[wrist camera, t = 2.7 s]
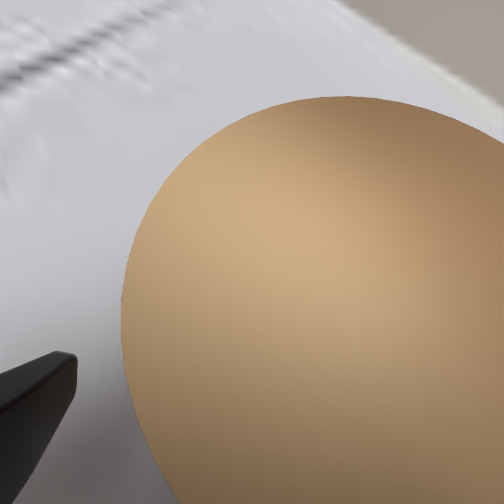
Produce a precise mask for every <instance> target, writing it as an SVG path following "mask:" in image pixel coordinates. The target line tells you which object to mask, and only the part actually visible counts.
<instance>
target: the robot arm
mask: <svg viewBox="0 0 504 504" xmlns="http://www.w3.org/2000/svg"><path fill="white" fill-rule="evenodd" d="M77 366H78V360H77V357H76V355H74V354H71V353H66V352H61V351H54V352H52V353H49V354H47V355H44V356H42V357H40V358H37V359H35V360H32V361H30V362H28V363H25V364H23V365H20V366H18V367H16V368H13V369H11V370H8V371H6V372H4V373H1V374H0V504H12V503H13V501H14V500H15V498H16V497H17V495H18V494H19V492H20V491H21V489H22V488H23V487H24V485H25V483H26V482H27V480H28V479H29V477H30V476H31V474H32V473H33V471H34V469H35V467H36V466H37V464H38V462H39V460H40V459H41V457H42V455H43V453H44V451H45V450H46V448H47V446H48V444H49V442H50V440H51V439H52V437H53V435H54V433H55V431H56V429H57V428H58V426H59V424H60V422H61V420H62V418H63V417H64V415H65V413H66V411H67V409H68V407H69V406H70V404H71V402H72V400H73V398H74V396H75V392H76V387H77Z"/></svg>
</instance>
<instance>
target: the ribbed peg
mask: <svg viewBox="0 0 504 504" xmlns="http://www.w3.org/2000/svg"><path fill="white" fill-rule="evenodd" d="M121 342H122V350H123V358H124V366H125V374H126V379H127V383H128V386H129V390H130V394H131V398H132V401H133V405H134V409H135V413H136V416H137V419H138V422H139V424H140V427H141V429H142V431H143V434H144V436H145V439H146V441H147V443H148V446H149V448H150V450H151V453H152V455H153V458H154V460H155V462H156V464H157V465H158V467H159V469H160V470H161V472H162V474H163V475H164V477H165V479H166V481H167V482H168V484H169V486H170V487H171V489H172V491H173V492H174V494H175V496H176V497H177V499H178V501H179V503H180V504H504V144H503V143H501V142H500V141H498V140H496V139H494V138H492V137H491V136H489V135H487V134H485V133H483V132H481V131H480V130H478V129H476V128H473V127H471V126H469V125H467V124H464V123H462V122H460V121H458V120H456V119H453V118H451V117H448V116H445V115H442V114H439V113H437V112H434V111H431V110H428V109H425V108H421V107H417V106H413V105H409V104H405V103H401V102H395V101H389V100H383V99H377V98H366V97H351V96H343V97H320V98H312V99H305V100H297V101H293V102H289V103H285V104H281V105H277V106H273V107H270V108H267V109H264V110H262V111H259V112H256V113H253V114H251V115H248V116H246V117H244V118H242V119H240V120H238V121H236V122H234V123H232V124H230V125H228V126H227V127H225V128H223V129H222V130H220V131H219V132H217V133H216V134H214V135H213V136H211V137H210V138H209V139H207V140H206V141H204V142H203V143H202V144H201V145H200V146H198V147H197V148H196V149H195V150H194V151H193V152H192V153H190V154H189V155H188V156H187V157H186V158H185V159H184V160H183V161H182V162H181V163H180V164H179V165H178V167H177V168H176V169H175V170H174V171H173V172H172V173H171V175H170V176H169V177H168V178H167V179H166V180H165V182H164V183H163V185H162V187H161V188H160V190H159V191H158V193H157V194H156V196H155V197H154V199H153V200H152V202H151V203H150V205H149V207H148V209H147V211H146V213H145V216H144V218H143V220H142V222H141V224H140V226H139V228H138V231H137V233H136V236H135V239H134V242H133V246H132V249H131V252H130V256H129V259H128V262H127V266H126V273H125V279H124V286H123V292H122V298H121Z"/></svg>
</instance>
